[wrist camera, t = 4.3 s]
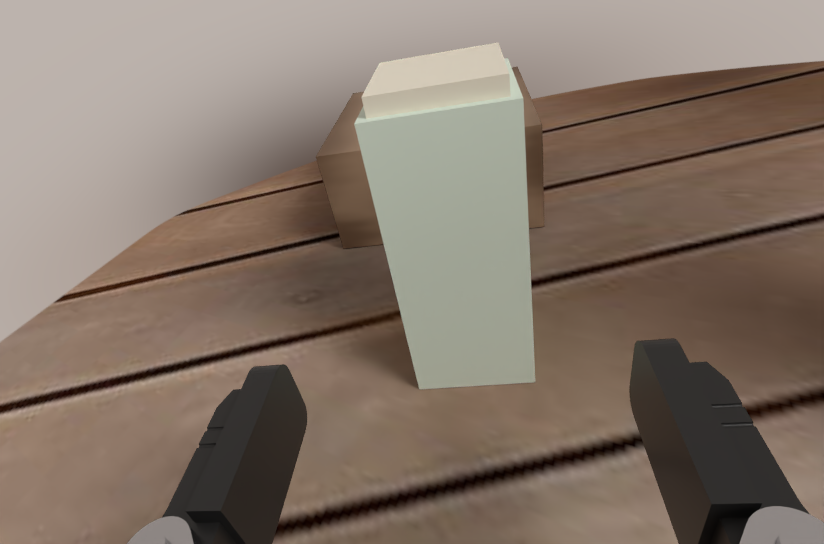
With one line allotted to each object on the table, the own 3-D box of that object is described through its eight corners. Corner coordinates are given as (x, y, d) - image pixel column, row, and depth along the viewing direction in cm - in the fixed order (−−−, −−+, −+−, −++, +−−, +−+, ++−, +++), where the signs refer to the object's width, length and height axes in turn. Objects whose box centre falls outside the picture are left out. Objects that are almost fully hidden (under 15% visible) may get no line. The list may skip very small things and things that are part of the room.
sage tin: (522, 306, 23) (506, 39, 16) (535, 382, 19) (522, 74, 12) (425, 315, 23) (372, 62, 17) (419, 389, 20) (349, 102, 13)
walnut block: (521, 147, 38) (517, 66, 34) (544, 226, 28) (542, 124, 25) (371, 168, 40) (353, 93, 36) (343, 248, 30) (315, 156, 26)
